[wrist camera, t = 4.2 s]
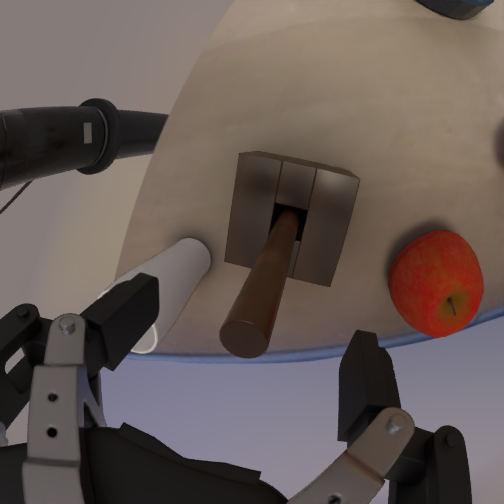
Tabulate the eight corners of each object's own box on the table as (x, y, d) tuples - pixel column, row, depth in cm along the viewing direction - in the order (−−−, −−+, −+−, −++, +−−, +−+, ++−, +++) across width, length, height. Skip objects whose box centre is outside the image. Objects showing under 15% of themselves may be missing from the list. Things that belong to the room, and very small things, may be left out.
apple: (426, 201, 25) (472, 231, 16) (473, 259, 26) (515, 302, 16) (365, 270, 30) (382, 325, 20) (417, 317, 31) (440, 374, 21)
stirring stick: (284, 211, 30) (216, 351, 10) (287, 195, 29) (221, 314, 9) (300, 214, 29) (263, 364, 10) (304, 198, 29) (273, 328, 9)
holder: (242, 237, 32) (224, 261, 26) (256, 150, 28) (239, 152, 22) (327, 257, 31) (329, 287, 24) (349, 170, 26) (360, 178, 20)
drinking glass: (228, 264, 34) (173, 342, 20) (192, 288, 36) (132, 362, 23) (194, 220, 32) (116, 275, 19) (160, 249, 35) (85, 307, 22)
